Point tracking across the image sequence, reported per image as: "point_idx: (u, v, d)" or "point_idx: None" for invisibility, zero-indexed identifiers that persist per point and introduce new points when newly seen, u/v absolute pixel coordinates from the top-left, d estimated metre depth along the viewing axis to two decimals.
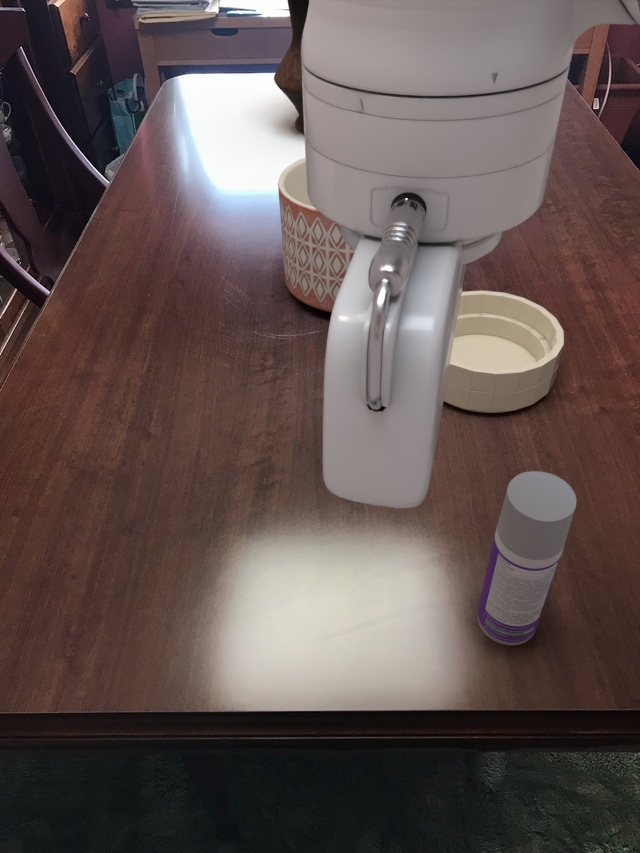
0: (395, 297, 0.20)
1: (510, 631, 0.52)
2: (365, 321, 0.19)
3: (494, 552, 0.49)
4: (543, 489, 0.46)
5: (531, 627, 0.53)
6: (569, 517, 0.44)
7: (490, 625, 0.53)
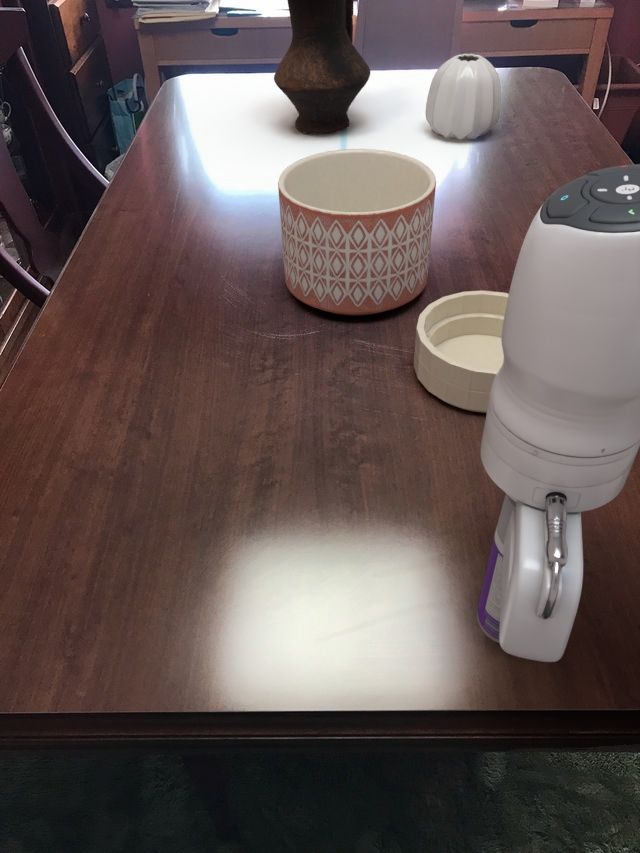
0: None
1: None
2: (547, 584, 0.36)
3: (494, 552, 0.49)
4: None
5: None
6: None
7: (490, 625, 0.53)
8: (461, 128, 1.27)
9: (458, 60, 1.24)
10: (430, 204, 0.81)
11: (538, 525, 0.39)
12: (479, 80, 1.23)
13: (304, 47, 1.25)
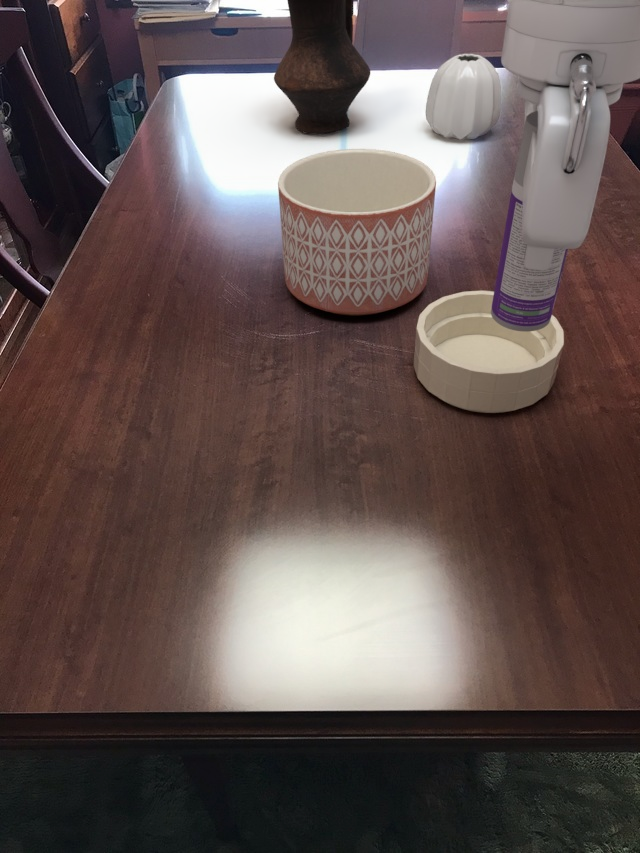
0: None
1: (525, 309, 0.52)
2: (576, 110, 0.35)
3: (511, 207, 0.48)
4: None
5: (547, 307, 0.52)
6: None
7: (505, 308, 0.53)
8: (461, 128, 1.27)
9: (458, 60, 1.24)
10: (430, 204, 0.81)
11: (563, 94, 0.39)
12: (479, 80, 1.23)
13: (304, 47, 1.25)
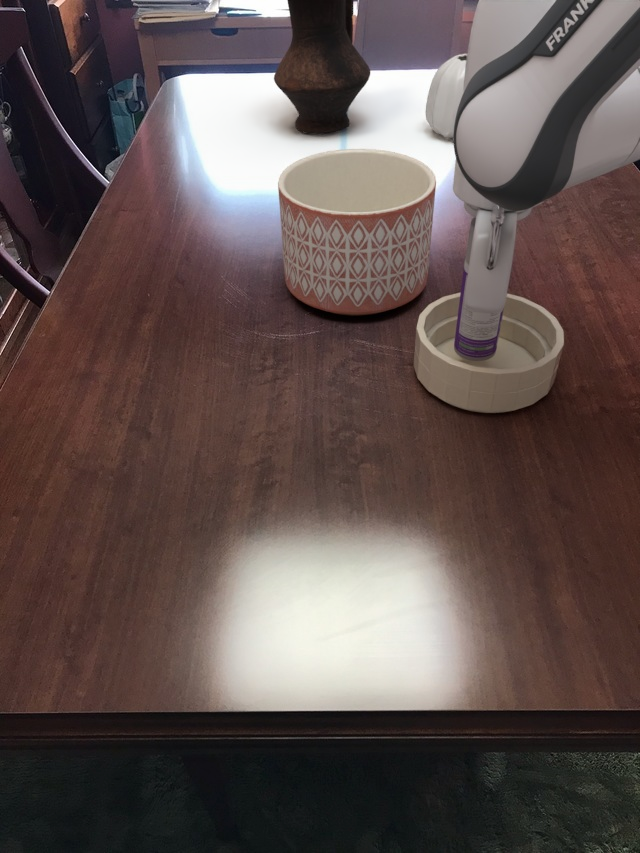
0: (499, 227, 0.58)
1: (476, 346, 0.74)
2: (491, 234, 0.57)
3: (463, 277, 0.71)
4: None
5: (491, 344, 0.74)
6: None
7: (462, 345, 0.75)
8: None
9: (458, 60, 1.24)
10: (430, 204, 0.81)
11: (488, 217, 0.61)
12: None
13: (304, 47, 1.25)
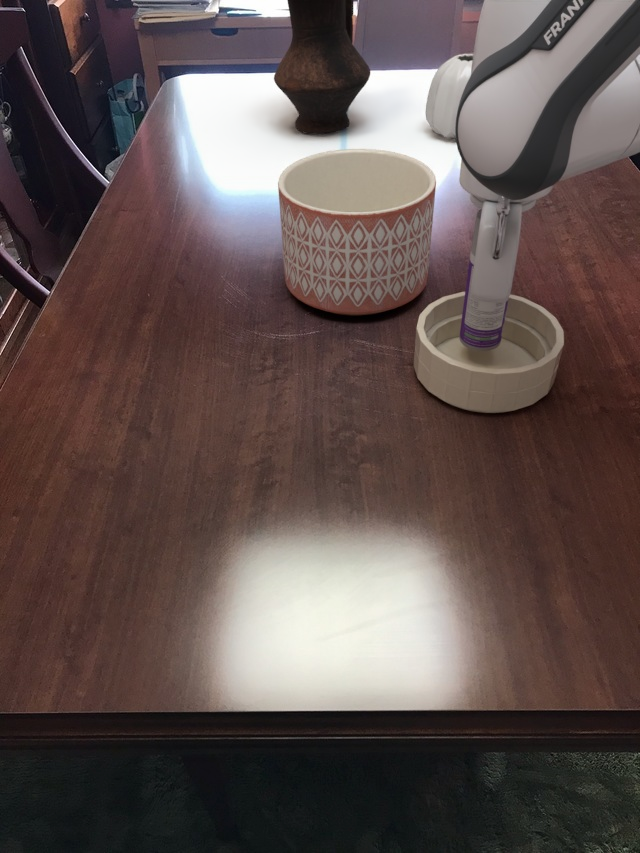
0: (505, 218, 0.60)
1: (481, 336, 0.75)
2: (497, 224, 0.59)
3: (469, 268, 0.72)
4: None
5: (496, 334, 0.76)
6: None
7: (468, 335, 0.76)
8: None
9: (458, 60, 1.24)
10: (430, 204, 0.81)
11: (494, 208, 0.62)
12: None
13: (304, 47, 1.25)
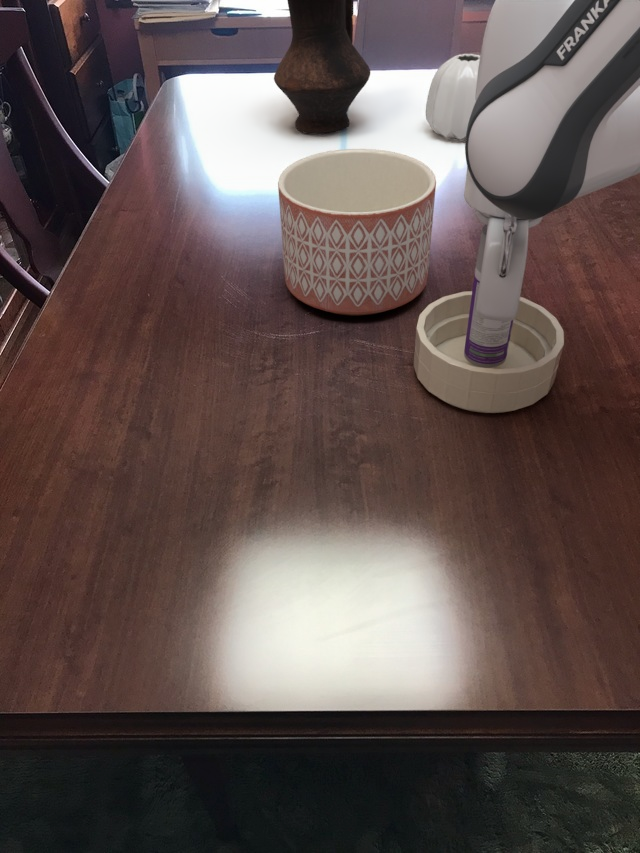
0: (511, 235, 0.58)
1: (486, 353, 0.74)
2: (503, 242, 0.57)
3: (474, 284, 0.71)
4: None
5: (502, 351, 0.74)
6: None
7: (473, 351, 0.75)
8: (461, 128, 1.27)
9: (458, 60, 1.24)
10: (430, 204, 0.81)
11: (500, 225, 0.61)
12: None
13: (304, 47, 1.25)
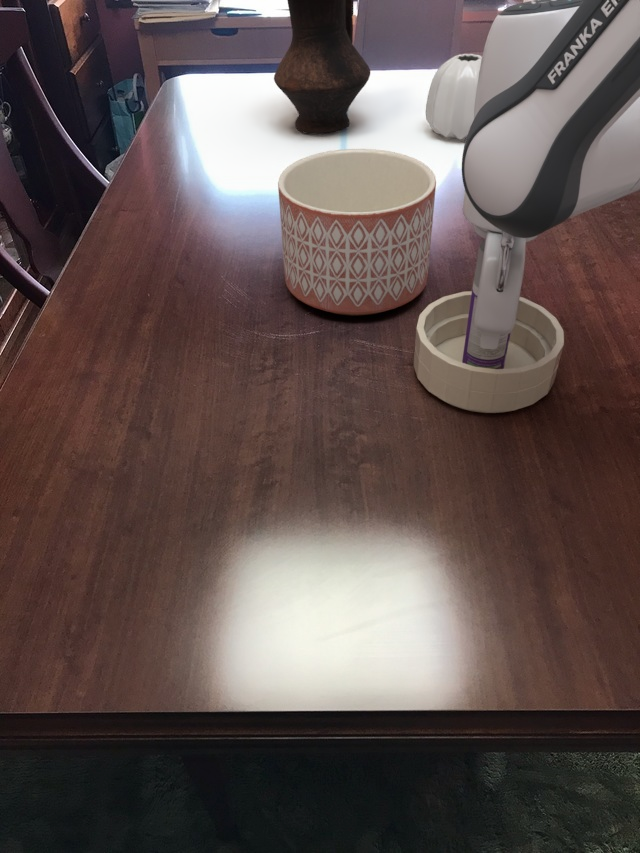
0: (509, 251, 0.59)
1: (484, 365, 0.75)
2: (501, 258, 0.58)
3: (472, 299, 0.72)
4: None
5: (499, 363, 0.75)
6: None
7: (470, 364, 0.76)
8: (461, 128, 1.27)
9: (458, 60, 1.24)
10: (430, 204, 0.81)
11: (498, 240, 0.62)
12: None
13: (304, 47, 1.25)
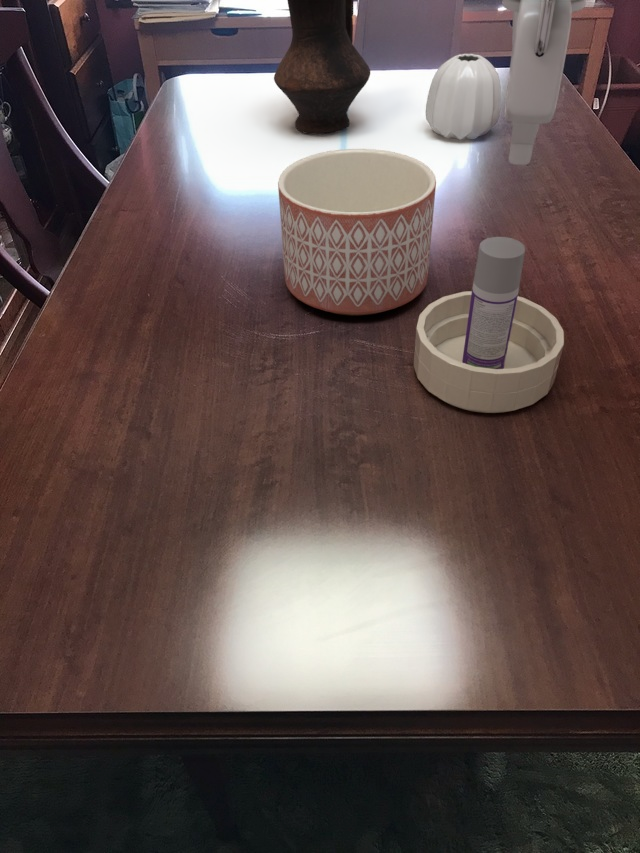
0: None
1: (484, 365, 0.75)
2: (543, 1, 0.46)
3: (472, 299, 0.72)
4: (503, 244, 0.68)
5: (499, 363, 0.75)
6: (520, 257, 0.67)
7: (470, 364, 0.76)
8: (461, 128, 1.27)
9: (458, 60, 1.24)
10: (430, 204, 0.81)
11: None
12: (479, 80, 1.23)
13: (304, 47, 1.25)
